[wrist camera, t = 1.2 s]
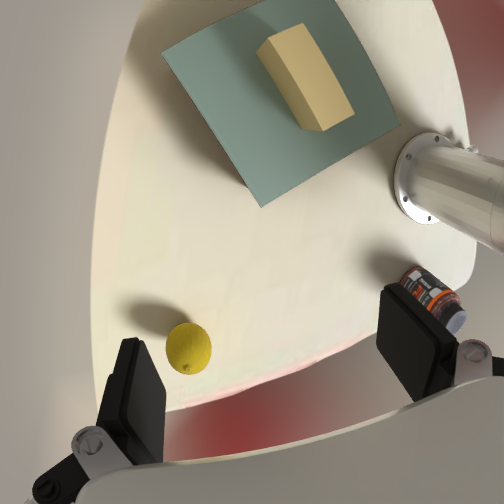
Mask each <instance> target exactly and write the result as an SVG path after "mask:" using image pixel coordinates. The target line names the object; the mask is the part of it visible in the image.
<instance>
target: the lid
mask: <svg viewBox="0 0 504 504" xmlns="http://www.w3.org/2000/svg"><path fill="white" fill-rule="evenodd" d="M161 54H162V56H163V58H164V59H165V60H166V62H167V63H168V65H169V66H170V68H171V69H172V71H173V72H174V74H175V75H176V77H177V78H178V80H179V81H180V83H181V84H182V86H183V87H184V89H185V90H186V92H187V93H188V95H189V96H190V98H191V99H192V101H193V102H194V104H195V105H196V107H197V108H198V110H199V112H200V113H201V115H202V116H203V118H204V119H205V121H206V122H207V124H208V125H209V127H210V128H211V130H212V132H213V133H214V135H215V136H216V138H217V139H218V141H219V142H220V144H221V145H222V147H223V149H224V150H225V152H226V153H227V155H228V156H229V158H230V160H231V161H232V163H233V164H234V166H235V167H236V169H237V171H238V172H239V174H240V175H241V177H242V179H243V180H244V182H245V183H246V185H247V187H248V188H249V190H250V191H251V193H252V195H253V196H254V198H255V199H256V201H257V203H258V204H259V206H260V207H261V208H262V207H263V206H265V205H266V204H268V203H270V202H271V201H273V200H274V199H276V198H278V197H279V196H281V195H283V194H284V193H286V192H288V191H289V190H291V189H292V188H294V187H296V186H297V185H299V184H301V183H302V182H304V181H306V180H307V179H309V178H311V177H312V176H314V175H316V174H317V173H319V172H321V171H322V170H324V169H326V168H327V167H329V166H331V165H332V164H334V163H336V162H337V161H339V160H341V159H342V158H344V157H346V156H348V155H349V154H351V153H353V152H354V151H356V150H358V149H360V148H361V147H363V146H365V145H366V144H368V143H370V142H372V141H373V140H375V139H377V138H379V137H380V136H382V135H384V134H386V133H387V132H389V131H391V130H393V129H394V128H396V127H398V126H400V125H401V124H400V122H399V120H398V117H397V115H396V113H395V110H394V108H393V106H392V104H391V101H390V99H389V97H388V95H387V93H386V91H385V88H384V86H383V84H382V82H381V80H380V78H379V76H378V74H377V72H376V70H375V68H374V66H373V64H372V63H371V61H370V59H369V57H368V55H367V53H366V51H365V50H364V48H363V46H362V44H361V42H360V41H359V39H358V37H357V35H356V34H355V32H354V30H353V29H352V27H351V25H350V24H349V22H348V21H347V19H346V17H345V16H344V14H343V13H342V11H341V9H340V8H339V6H338V5H337V3H336V2H335V0H265V1H262V2H260V3H257V4H255V5H253V6H250V7H248V8H246V9H243V10H241V11H239V12H237V13H235V14H232V15H230V16H228V17H226V18H224V19H222V20H220V21H218V22H216V23H214V24H212V25H210V26H208V27H206V28H204V29H202V30H200V31H198V32H196V33H195V34H193V35H191V36H189V37H187V38H186V39H184V40H182V41H180V42H179V43H177V44H175V45H173V46H172V47H170V48H168V49H167V50H165V51H164V52H162V53H161Z"/></svg>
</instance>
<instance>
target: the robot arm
mask: <svg viewBox="0 0 504 504" xmlns="http://www.w3.org/2000/svg"><path fill="white" fill-rule="evenodd" d="M477 153H478V148H477V147H476V146H475V145H471V146H470V147H468V148H467V149H462V148H457V147H455V145H454V144H453V143H452V142H451V140H450V139H448V138H447V137H445V136H443V135H441V134H438V133H432V132H429V133H422V134H419V135H417V136H415V137H414V138H412V139H411V140H410V141H409V142H408V143H407V144H406V145H405V147H404V148H403V150H402V151H401V153H400V155H399V157H398V160H397V163H396V167H395V173H394V189H395V195H396V198H397V201H398V204H399V206H400V207H401V209H402V211H403V212H404V213H405V214H406V215H407V216H408V217H410V218H411V219H413V220H414V221H416V222H419V223H422V224H431V223H436V222H438V221H441V222H443V223H445V224H447V225H449V226H451V227H453V228H455V229H457V230H459V231H460V232H462V233H464V234H466V235H468V236H470V237H471V238H473V239H475V240H477V241H479V242H480V243H482V244H484V245H486V246H487V247H489V248H491V249H493V250H495V251H496V252H498V253H500V254H502V255H503V256H504V160H500V159H496V158H493V157H489V156H485V155H481V154H477ZM456 340H457V339H456V338H455V337H454V336H453V335H452V334H451V333H450V331H449V330H448V329H447V328H446V327H445V326H444V325H443V324H442V323H441V322H440V321H439V320H438V319H437V318H435V317H434V316H433V315H432V314H431V313H430V312H429V311H428V310H427V309H426V308H425V307H424V306H423V305H422V304H421V303H420V302H419V301H418V300H417V299H416V298H415V297H414V296H413V295H412V294H411V293H410V292H409V291H407V290H406V289H405V288H404V287H403V286H402V285H401V284H400V283H393V284H390V285H386V286H385V287H384V290H382V291H381V294H380V307H379V319H378V329H377V339H376V345H377V348H378V350H379V351H380V353H381V354H382V356H383V357H384V359H385V360H386V362H387V363H388V364H389V366H390V367H391V369H392V370H393V371H394V373H395V375H396V376H397V377H398V379H399V380H400V382H401V383H402V385H403V386H404V388H405V389H406V391H407V392H408V394H409V395H410V397H411V398H412V400H413V401H414V403H412V404H409V405H407V406H404V407H402V408H400V409H397V410H394V411H392V412H389V413H386V414H384V415H381V416H378V417H376V418H373V419H370V420H367V421H364V422H362V423H358V424H355V425H352V426H349V427H346V428H343V429H340V430H336V431H333V432H330V433H326V434H323V435H319V436H315V437H312V438H308V439H304V440H300V441H296V442H292V443H288V444H283V445H279V446H275V447H269V448H265V449H260V450H254V451H249V452H243V453H237V454H231V455H225V456H218V457H210V458H202V459H194V460H185V461H175V462H163V445H164V425H165V409H166V390H165V387H164V385H163V383H162V381H161V379H160V376H159V374H158V372H157V370H156V368H155V366H154V363H153V361H152V359H151V357H150V354H149V352H148V350H147V347H146V345H145V343H144V341H143V340H140V341H139V339H138V338H137V337H134V338H127V339H123V340H122V343H121V346H120V349H119V353H118V356H117V360H116V363H115V367H114V371H113V374H110V375H109V377H108V379H107V383H106V387H105V390H104V394H103V398H102V402H101V406H100V410H99V414H98V418H97V422H96V426H88V427H85V428H83V429H81V430H80V431H78V432H77V433H76V434H75V436H74V437H73V440H72V443H71V448H72V451H73V453H72V454H71V455H69V456H68V457H66V458H65V459H64V460H62V461H61V462H60V463H58V464H57V465H55V466H54V467H52V468H51V469H50V470H49V471H47V472H46V473H44V474H43V475H41V476H40V477H39V478H38V479H37V480H36V481H35V483H34V485H33V488H32V492H33V497H34V498H33V499H32V500H31V501H30V500H29V499H27V501H26V502H25V503H24V504H504V358H499V357H493V356H492V353H491V350H490V348H489V346H488V345H486V344H485V343H483V342H481V341H479V340H475V339H469V340H465V341H463V342H462V343H460V344H459V343H458V342H457V341H456Z"/></svg>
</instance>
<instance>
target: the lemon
mask: <svg viewBox="0 0 504 504" xmlns="http://www.w3.org/2000/svg"><path fill="white" fill-rule="evenodd" d="M166 354H167V358H168V361H169V363H170V364H171V366H172V367H173V368H174V369H175V370H176V371H178V372H180V373H183V374H187V375H191V374H196V373H198V372H201V371H202V370H203V369H204V368H205V367H206V366H207V364H208V362H209V360H210V357H211V341H210V338H209V336H208V334H207V333H206V331H205V330H204V329H203V328H202V327H201V326H199V325H197V324H194V323H182V324H179V325H177V326H176V327H174V328H173V329H172V331H171V332H170V333H169V335H168V338H167V341H166Z"/></svg>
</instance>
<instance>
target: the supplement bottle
mask: <svg viewBox="0 0 504 504" xmlns="http://www.w3.org/2000/svg"><path fill="white" fill-rule="evenodd" d="M400 284H401V285H402V286H403V287H404V288H405V289H406V290H407V291H409V292H410V293H411V294H412V295H413V296H414V297H415V298H416V299H417V300H418V301H419V302H420V303H421V304H422V305H423V306H424V307H425V308H426V309H427V310H428V311H429V312H430V313H431V314H432V315H433V316H434V317H435V318H437V319H438V320H439V321H440V322H441V323H442V324H443V325H444V326H445V327H446V328H447V329H448V330H449V331H450V333H451V334H452V335H454V334H456V333H457V332H458V331H459V330H460V329H461V328H462V327H463V325H464V323H465V322H466V318H467V314H466V312H465V310H463V309H462V308H461V307H460V306H461V304H460V299H459V297H458V295H457V294H456V293H455V292H453V291H452V290H451V289H450V288H449V287H447V286H446V285H445V284H444V283H442V282H441V281H440V280H439V279H437V278H436V277H435V276H434V275H432V274H431V273H430V272H429V271H427V270H426V269H424V268H421V267H417V268H413V269H411V270H410V271H408V272H407V273H406V274H405V275H404V277H403V278H402V280H401V282H400Z"/></svg>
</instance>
